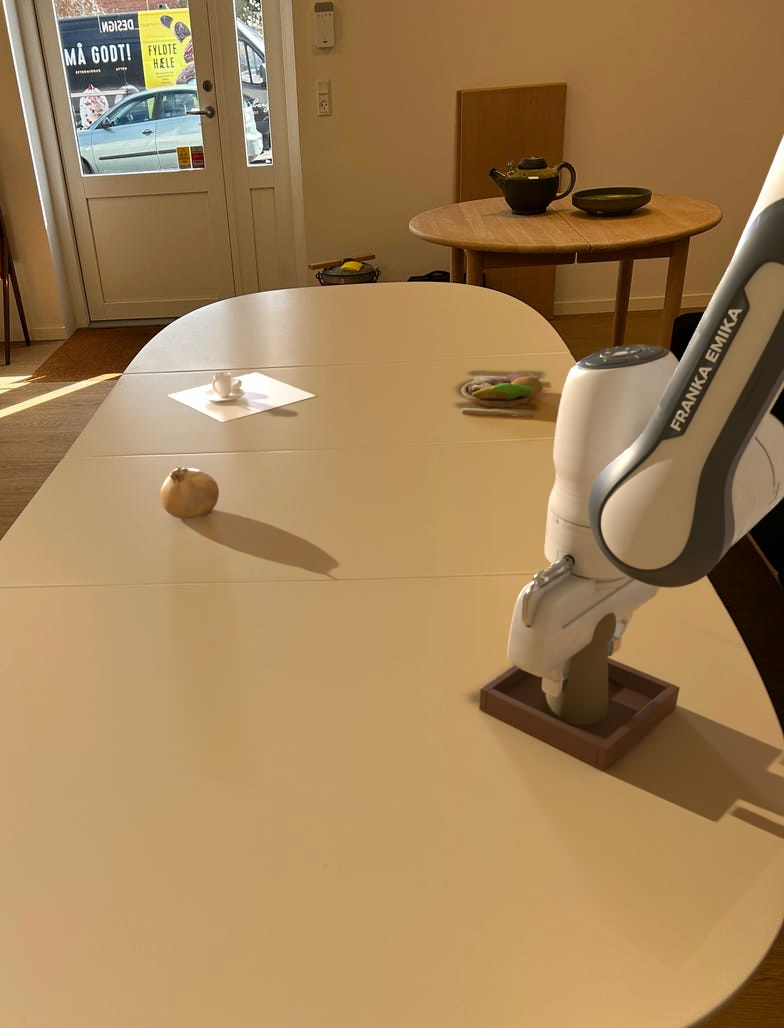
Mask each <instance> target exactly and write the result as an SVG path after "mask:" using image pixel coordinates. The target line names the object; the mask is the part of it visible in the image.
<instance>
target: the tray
mask: <svg viewBox="0 0 784 1028" xmlns="http://www.w3.org/2000/svg"><path fill="white" fill-rule="evenodd" d="M542 678H543V677H538V676H535V675H533V674H530V673H528V672H526V671H523V670H521V669H519V668H517V667H515V666H514V665H512V666H511V667H509V668H507V669H506V670H505V671H503V672H502V673H501V674H499V675H498V676H496V677H495V678H493V679H491V681H489V682H488V683H486V684H485V685H483V686H482V687H481V688H480V690H479V705H478V709H479V710H480V711H481V712H483V713H485V714H487V715H489V716H492V717H493V718H496V719H497V720H499V721H502V722H504V723H505V724H507V725H510V726H511V727H513V728H515V729H517V730H519V731H522V732H523V733H526V734H528V735H529V736H531V737H534V738H535V739H537V740H540V741H542V742H543V743H546V744H547V745H550V746H552V747H554V748H555V749H558V750H560V751H562V752H564V753H566V754H567V755H570V756H572V757H574V758H575V759H577V760H579V761H581V762H583V763H585V764H587V765H589V766H592V767H594V768H595V769H597V770H599V771H601V772H605V771H606V770H607V769H608V768H609V767H611V765H613V764H614V763H615V762H616V761H618V759H620V758H621V757H622V756H623V755H624V754H625V753H627V752H628V751H629V750H630V749H631V748H633V747H634V745H636V744H637V743H638V742H639V741H640V740H641V739H643V738H644V737H645V736H646V735H647V734H649V732H650V731H651V730H653V729H654V728H655V727H656V726H657V725H658V724H660V723H661V722H662V721H664V719H666V718H667V717H668V716H669V715H670V714H671V713H672V712H673V711H675V709H676V708H677V702H678V698H679V693H680V686H678V685H676V684H673V683H670V682H668V681H666V680H663V679H661V678H658V677H657V676H653V675H651V674H649V673H646V672H644V671H641V670H639V669H637V668H635V667H632V666H630V665H627V664H624V663H622V662H620V661H618V660H615V659H614V658H613V659H612V658H610V657H608V698H609V709H608V714H607V716H606V717H605V718H604V719H603V720H601V721H599V722H597V723H593V724H589V725H574V724H568V723H565V722H562V721H559V720H557V719H555V718H554V717H552V716H551V715H550V714H549V713H548V712H547V711H546V710H545V707H544V705H543V704H544V698H545V695H546V693H545V692H544V691H543V690H542Z"/></svg>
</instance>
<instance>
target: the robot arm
mask: <svg viewBox="0 0 784 1028" xmlns="http://www.w3.org/2000/svg"><path fill="white" fill-rule="evenodd" d="M748 218H749V219H748V220H747V223H746V224H745V227H744V229H743V231H742V234H741V236H740V239H739V241H738V243H737V245H736V248H735V250H734V253H733V256H732V258H731V260H730V263H729V264H728V266H727V268H726V271H725V272H724V275H723V276H722V278H721V280H720V282H719V284H718V286H717V287H716V290H715V291H714V293H713V295H712V296H711V299H710V301H709V303H708V305H707V307H706V309H705V311H704V313H703V315H702V317H701V319H700V321H699V323H698V325H697V327H696V328H695V331H694V332H693V335H692V337H691V339H690V341H689V342H688V344H687V347H686V349H685V351H684V353H683V355H682V357H681V359H680V361H679V360H678V359H677V357H676V356H675V355H674V353H673V352H672V351H670V350H668V349H667V348H665V347H661V346H657V345H655V344H643V343H642V344H638V343H637V344H626V345H619V346H615V347H610V348H604V349H600V350H599V351H597V352H594V353H592V354H589V355H587V356H586V357H584V358H582V359H581V360H579V361H577V362H576V363H575V365H573V366H572V367H571V368H570V370H569V372H568V374H567V376H566V379H565V381H564V385H563V388H562V392H561V396H560V400H559V405H558V410H557V411H558V412H557V416H556V417H557V418H556V425H555V431H554V439H553V440H554V441H553V448H552V460H553V464H554V470H555V477H554V478H555V481H554V484H553V487H552V489H551V491H550V494H549V497H548V498H549V499H548V503H547V512H546V513H547V514H546V524H545V536H544V546H543V547H544V548H543V553H544V557H545V558H546V560H547V561H548V562H549V563H550V566H548V567H547V568H545V569H542V570H539V572H537V573H536V574H535V575H534V576H533V577H532V581H530V582H529V583H527V584H526V585H525V586H524V587H523V588H522V589H521V591H520V592H519V595H518V596H517V599H516V602H515V605H514V609H513V613H512V619H511V622H510V623H511V624H510V628H509V634H508V642H507V649H506V657H507V659H508V661H509V663H510V664H511V665H512V666H515V667H517V668H519V669H521V670H523V671H526V672H528V673H530V674H533V675H535V676H538V677H543V678H542V690H543V691H544V692H545V693H547V694H549V695H551V696H553V697H558V696H559V695H560V694H561V693H562V692H564V691H565V690H566V689H567V683H568V677H569V676H568V675H566V674H564V673H562V671H561V668H562V667H564V665H565V661H566V660H568V659H569V658H570V657H572V656H573V655H574V654H576V653H577V652H579V651H580V650H581V649H583V648H584V647H585V646H587V645H588V644H590V643H591V640H592V638H593V633H594V630H595V628H596V626H597V623H598V622H599V621H600V620H601V619H602V618H603V617H604V616H606V615H607V614H609V613H612V612H613V613H614V614H615V616H616V630H615V633H614V635H613V637H612V639H611V640H610V641H609V642H608V657H611V656H613V655H615V653H617V652H619V650H620V649H621V648H622V647H621V645H622V641H623V640H622V639H623V636H624V634H625V633H626V630H627V628H628V626H629V624H630V622H631V620H632V618H633V613H634V612H635V611H637V610H638V609H639V608H641V607H642V606H643V605H645V604H646V603H647V602H649V601H650V600H651V599H653V598H654V597H655V596H656V595H657V594H658V593H659V591H660V589H661V588H667V589H669V588H670V589H672V588H673V589H674V588H682V587H685V586H686V587H687V586H689V585H692V584H694V583H696V582H699V581H700V580H702V579H703V578H705V577H706V576H707V575H708V574H710V573H711V571H712V570H713V569H714V568H715V567H716V566H717V564H718V563H720V561H721V559H723V557H724V556H726V554H727V552H728V551H729V550H730V549H731V548H732V547H733V546H734V545H735V544H736V543H737V542H738V541H740V539H742V538H743V537H744V536H745V535H746V534H747V533H748V532H750V531H751V530H752V529H753V528H755V526H756V525H757V524H758V523H759V522H760V521H761V520H762V519H763V518H764V517H765V516H766V515H768V513H769V512H771V511H772V510H773V509H774V508H775V507H776V506H777V505H778V504H779V503H780V502H781V501H782V500H783V499H784V423H783V422H782V420H780V418H778V417H777V416H776V415H775V414H773V413H771V410H772V409H773V407H774V406H775V404H776V402H777V400H778V398H779V396H780V394H781V392H782V391H783V389H784V135H782V138H781V140H780V143H779V145H778V148H777V150H776V153H775V156H774V158H773V160H772V163H771V166H770V168H769V171H768V173H767V176H766V178H765V181H764V183H763V186H762V189H761V190H760V193H759V195H758V197H757V200H756V202H755V205H754V207H753V209H752V211H751V214H750V216H749V217H748Z"/></svg>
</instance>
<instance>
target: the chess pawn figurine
mask: <svg viewBox="0 0 784 1028" xmlns="http://www.w3.org/2000/svg"><path fill="white" fill-rule="evenodd" d="M615 630H616V616H615V614H614V613H613V612H612V613H609V614H607V615H606V616H604V617H603V618H602V619H601V620H600V621H599V622H598V623H597V626H596V628H595V630H594V633H593V638H592V640H591V643H590V644H588V645H587V646H585V647H584V648H583V649H581V650H580V651H579V652H577V653H576V654H574V655H573V656H572V657H570V658H569V659H568V660H566V661H565V665H564V667H562V668H561V671H562V673H564V674H566V675H568V676H569V677H568V683H567V689H566V690H565V691H564V692H562V693H561V694H560V695H559V696H558V697H553V696H551V695H549V694H547V693H546V695H545V698H544V704H543V705H544V707H545V710H546V711H547V712H548V713H549V714H550V715H551V716H552V717H554V718H555V719H557V720H559V721H562V722H565V723H568V724H574V725H589V724H593V723H597V722H599V721H601V720H603V719H604V718H605V717H606V716H607V714H608V709H609V698H608V658H609V656H608V642H609V641H610V640H611V639H612V637H613V635H614V633H615Z"/></svg>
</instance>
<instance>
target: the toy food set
mask: <svg viewBox="0 0 784 1028" xmlns="http://www.w3.org/2000/svg"><path fill="white" fill-rule="evenodd" d="M543 388H544V387H543V385H542V382H541V381H540V377H539V376H531V375H530V374H528V373H524V372H521V371H520V372H518V371H517V372H513V373H510V374H508V375H507V376H494V375H475V376H473V380H472V381H470V382H468V383H466V384H464V385H463V386H462V388H461V394H463V396H464V397H465V398H466V399H467V400H468V401H469V402H471V403H473V404H476V405H480V406H483V405H484V407H491V406H493V408H492V409H491V408H490V409H489V408H473V407H471V408H470V407H463V408H461V409H460V413H461V415H475V416H477V415H479V416H497V415H515V416H514V417H517V416H532V417H533V416H534V413H535V412H534V410H532V409H518V408H517V409H516V408H501V407H500V406H508V407H512V406H511V405H516V406H518V405H517V404H520V405H522V404H521V403H523V404H525V403H527V402H529V401H530V400H531V399H532V398H534V397H535V396H536V395H537V394H540V393H542V391H543ZM528 400H529V401H528ZM526 401H527V402H526ZM524 402H525V403H524ZM494 406H496V407H494ZM516 415H517V416H516Z"/></svg>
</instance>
